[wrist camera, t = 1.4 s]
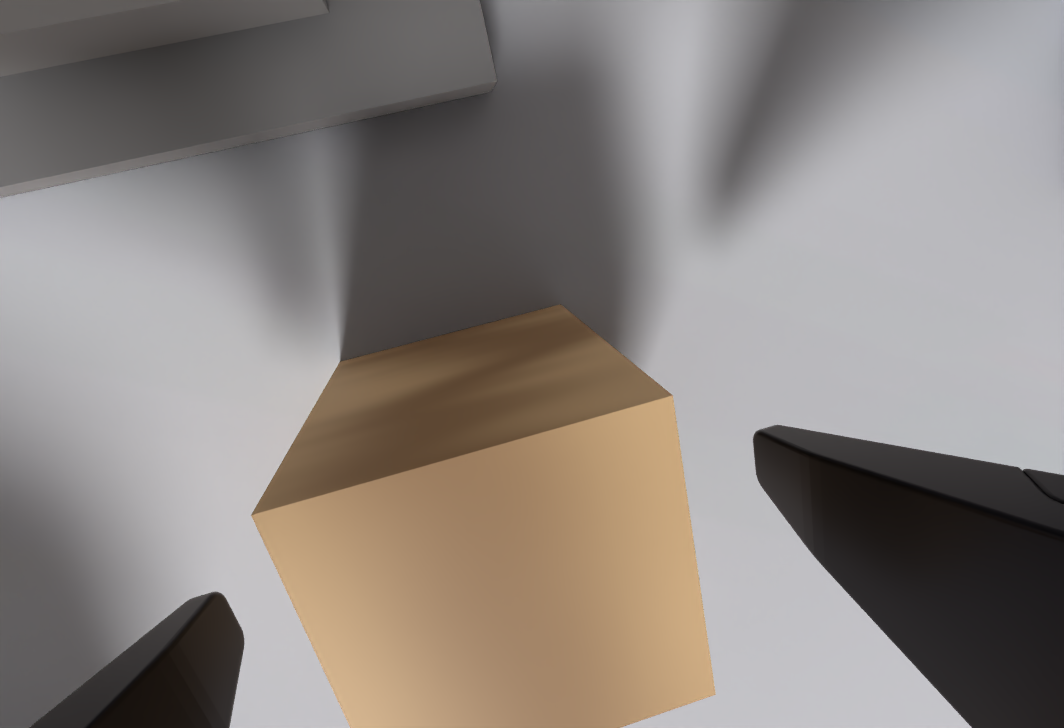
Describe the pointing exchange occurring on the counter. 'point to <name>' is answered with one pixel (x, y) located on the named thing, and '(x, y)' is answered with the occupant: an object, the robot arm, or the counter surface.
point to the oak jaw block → (493, 534)
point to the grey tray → (214, 75)
